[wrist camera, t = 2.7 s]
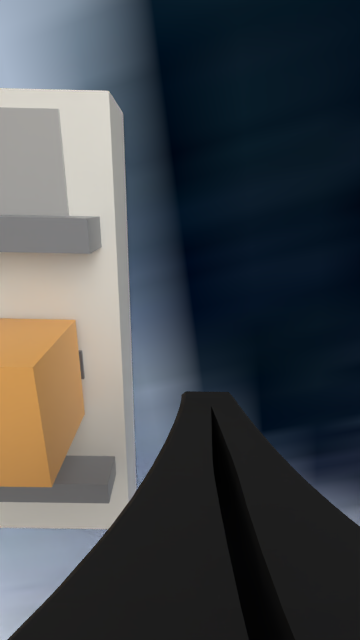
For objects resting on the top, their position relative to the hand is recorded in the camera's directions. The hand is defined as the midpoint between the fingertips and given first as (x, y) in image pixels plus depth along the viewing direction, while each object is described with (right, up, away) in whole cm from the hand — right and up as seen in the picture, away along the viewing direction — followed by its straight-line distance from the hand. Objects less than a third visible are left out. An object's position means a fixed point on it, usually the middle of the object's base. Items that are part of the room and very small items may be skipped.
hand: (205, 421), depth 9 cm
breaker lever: (-6, +1, +3) cm, 7 cm away
